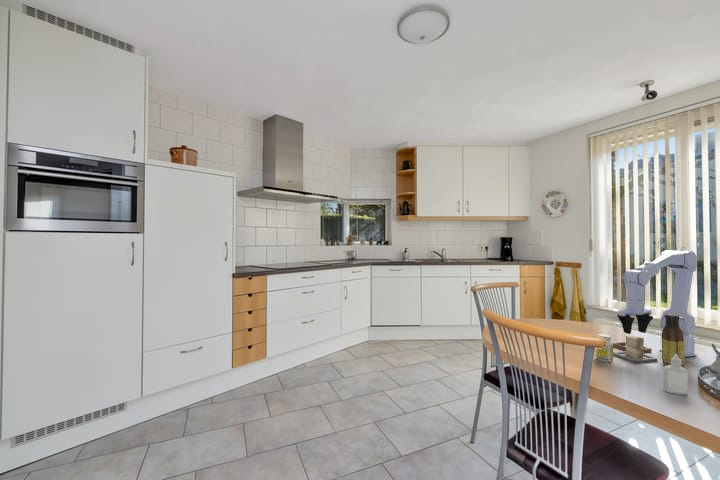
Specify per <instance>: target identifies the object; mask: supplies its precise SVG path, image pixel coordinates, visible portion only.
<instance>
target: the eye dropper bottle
mask: <svg viewBox="0 0 720 480" xmlns="http://www.w3.org/2000/svg"><path fill="white" fill-rule="evenodd" d="M670 364H671V365H667V366H665V365H664V366H663V374H662V380H663V381H662V389H663V390H664V391H665V392H667V393H669V394H674V395H683V396H684V395H686V396H687V395H688V392H689V390H688V389H689V371H688V369H687V368H685V367H684V368H683V367H681V359H679V358H678V355H677V354H674V357H672V358H671V363H670Z"/></svg>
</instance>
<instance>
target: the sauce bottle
mask: <svg viewBox="0 0 720 480" xmlns="http://www.w3.org/2000/svg"><path fill="white" fill-rule="evenodd" d="M680 318H681V317H680V316H679V315H675V314H665V319H666V324H665V327H664V329H663V328H662V331H661V349H662V351H661V360H662V364H663V366H664V367H665V366H667V365H671V364H670V363H671V358H672V357H674V354H677V355H678V358H679V359H681V367H683V368H685V357H684V340H683V332H682V331H681V329H680V328H679V319H680Z"/></svg>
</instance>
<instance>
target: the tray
mask: <svg viewBox="0 0 720 480" xmlns="http://www.w3.org/2000/svg"><path fill="white" fill-rule="evenodd" d="M625 354H626V351H624V350H621V351H613V357H614V356H615V357H617V358H620V359H623V360H625V361H628V362H631V363H633V364H641V363H642V364H643V363H653V362H654V363H655V362H658V358H657V357H654V356H651V355H649V354H646V353H644V354H643V358H639V359H635V358H632V357H629V356H626V355H625Z"/></svg>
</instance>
